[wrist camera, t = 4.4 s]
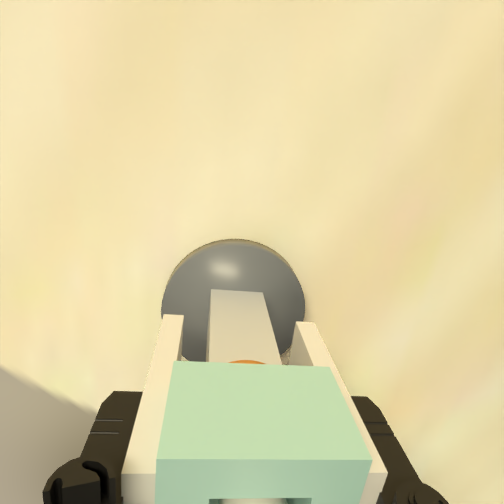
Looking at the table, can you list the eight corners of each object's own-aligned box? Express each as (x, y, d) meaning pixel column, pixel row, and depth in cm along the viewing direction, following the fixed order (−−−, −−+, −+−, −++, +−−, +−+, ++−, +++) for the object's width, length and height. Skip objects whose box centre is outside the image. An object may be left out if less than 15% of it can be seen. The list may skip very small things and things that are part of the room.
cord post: (310, 245, 17) (848, 941, 3) (289, 362, 19) (509, 1088, 5) (166, 232, 16) (-261, 1192, 2) (161, 357, 18) (-39, 1226, 4)
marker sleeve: (329, 366, 10) (372, 459, 7) (303, 477, 12) (331, 590, 9) (173, 360, 10) (156, 458, 7) (167, 478, 11) (150, 599, 8)
